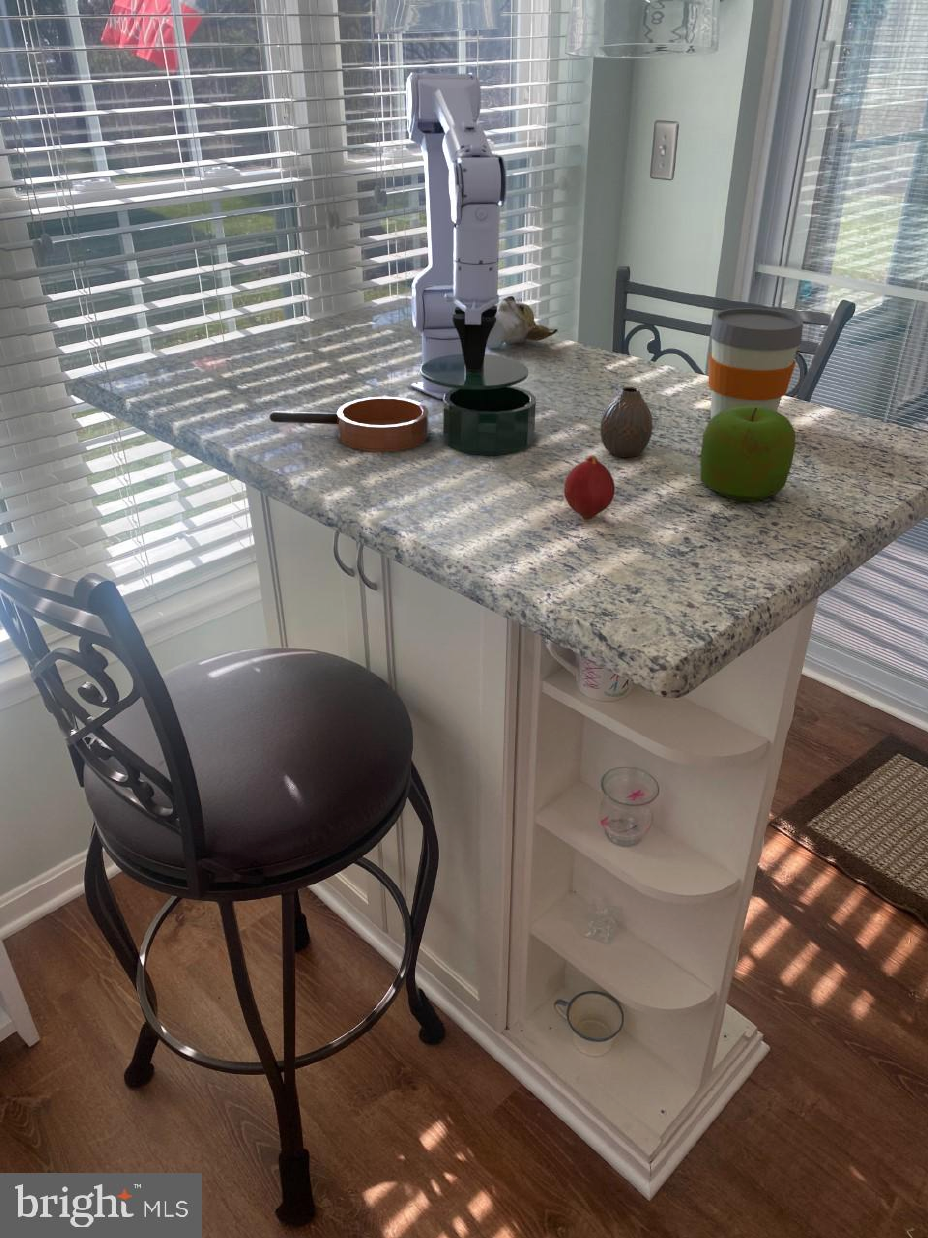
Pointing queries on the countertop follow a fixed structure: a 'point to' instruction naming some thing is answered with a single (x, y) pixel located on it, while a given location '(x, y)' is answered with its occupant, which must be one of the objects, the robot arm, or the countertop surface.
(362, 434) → the pan
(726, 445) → the apple
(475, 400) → the pot
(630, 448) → the vase
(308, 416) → the pan handle
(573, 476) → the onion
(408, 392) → the countertop surface
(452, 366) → the lid
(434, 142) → the robot arm
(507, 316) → the ceramic sculpture
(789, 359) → the reusable coffee cup
